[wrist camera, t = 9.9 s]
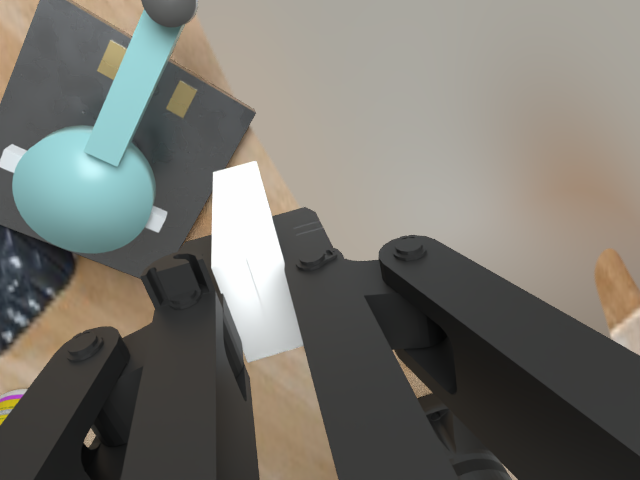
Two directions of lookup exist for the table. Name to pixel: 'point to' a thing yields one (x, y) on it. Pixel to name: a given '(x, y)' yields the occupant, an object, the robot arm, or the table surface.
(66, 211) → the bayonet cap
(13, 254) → the table surface
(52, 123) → the post base
